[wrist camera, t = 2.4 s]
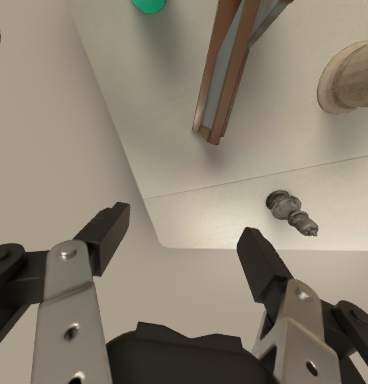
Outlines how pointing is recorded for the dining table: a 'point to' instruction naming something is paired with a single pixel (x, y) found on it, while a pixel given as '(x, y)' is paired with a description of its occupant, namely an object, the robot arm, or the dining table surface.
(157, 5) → the candle
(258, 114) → the dining table surface
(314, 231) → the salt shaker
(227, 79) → the glass door
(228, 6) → the screen frame
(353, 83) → the mug
